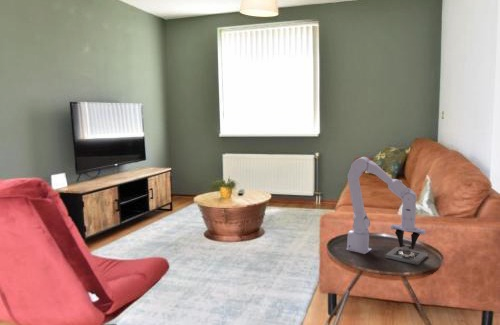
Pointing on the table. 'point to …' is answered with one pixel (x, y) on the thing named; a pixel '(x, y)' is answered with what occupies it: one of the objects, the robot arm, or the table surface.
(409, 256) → the planet gear
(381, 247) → the table surface
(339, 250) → the table surface
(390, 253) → the carrier plate
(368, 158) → the robot arm
